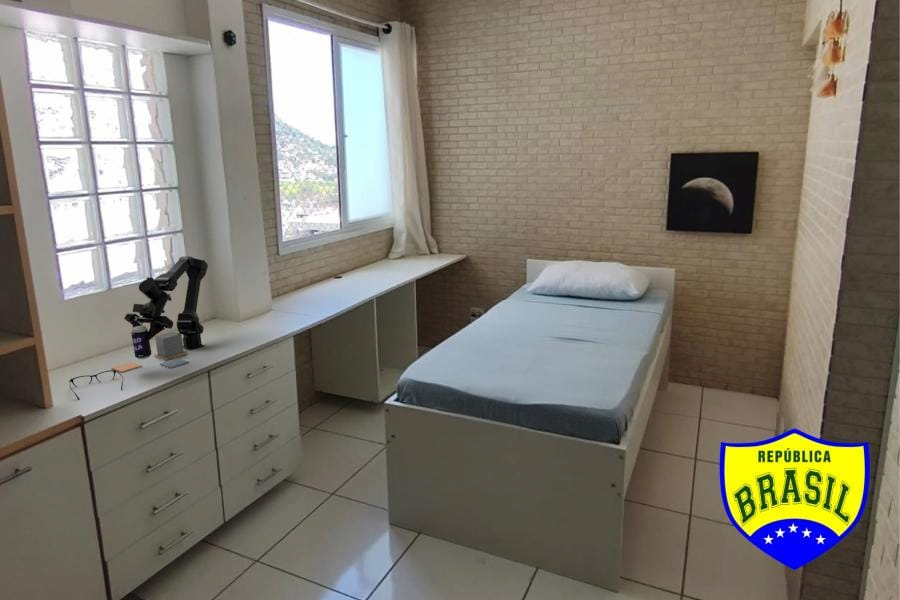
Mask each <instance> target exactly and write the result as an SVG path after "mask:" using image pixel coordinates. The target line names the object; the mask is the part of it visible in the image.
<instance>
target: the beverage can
mask: <svg viewBox="0 0 900 600" xmlns="http://www.w3.org/2000/svg"><path fill="white" fill-rule="evenodd" d="M148 331H149V328H147V326H146V325H142V326H136V327H133V326H132V327H131V331H130V333H131V339H132V344H133V351H134V357H135V358H137V359H138V360H144V359H148V358H150V357H151V356H152V350H151V349H152V348H151V342H150V340H149V341H148V342H147V341H145V339H146V336H147V333H148Z"/></svg>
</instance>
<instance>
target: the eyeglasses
mask: <svg viewBox="0 0 900 600" xmlns="http://www.w3.org/2000/svg"><path fill="white" fill-rule="evenodd" d="M108 372H112V373H113V377H112V379H111V381H112V380H114V379H115V377H116V373H117V374H119V375H120V376H121V377H122V379H124V377H123V375H122V373H120V372H118V371H116V370H113V369H111V370H105V371H101V372H98V373H96V374H91V375H79V376H75V377H73V378H70V380H69V382H68V383H72V385H74V387H75V388H78V385H76V384H75V382H74V380H75V379H78V378H83V377H85V378H86V377H88V378H89V377H90V381H89V383H88V385H90V384H91V383H92V382H93V378H94V377H95V379H96V381H97V382H99V383H101V382H102V381H101V380H100V379H99V378H98V376H99V375H100V374H103V373H108ZM123 385H124V380H122V381H121V387H120V391H121V390H122V391H123V387H124V386H123ZM69 388H70V389H71V392H73V394H74V395H75V397H76V398H77V400H78V401H80V399H81V398H79V396H78V395H77V393H76V392H75V391H74V390H73V388H72V386H71V385H69Z"/></svg>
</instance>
